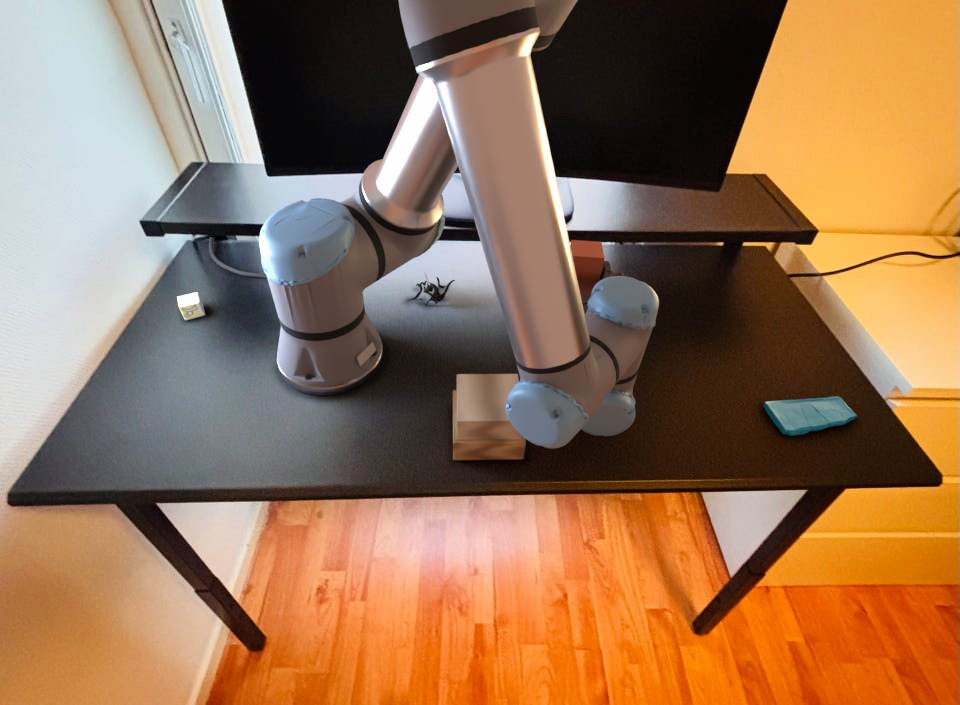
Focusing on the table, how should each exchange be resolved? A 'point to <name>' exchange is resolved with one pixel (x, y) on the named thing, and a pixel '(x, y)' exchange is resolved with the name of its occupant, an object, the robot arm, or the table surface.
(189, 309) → the alphabet block
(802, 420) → the sponge
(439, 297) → the creature
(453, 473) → the table surface
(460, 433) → the slab stack
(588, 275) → the pillar block
